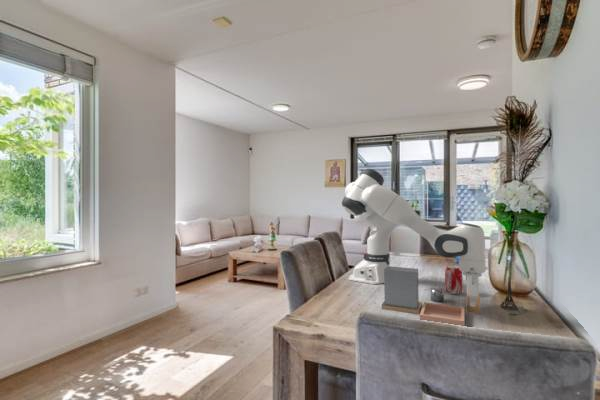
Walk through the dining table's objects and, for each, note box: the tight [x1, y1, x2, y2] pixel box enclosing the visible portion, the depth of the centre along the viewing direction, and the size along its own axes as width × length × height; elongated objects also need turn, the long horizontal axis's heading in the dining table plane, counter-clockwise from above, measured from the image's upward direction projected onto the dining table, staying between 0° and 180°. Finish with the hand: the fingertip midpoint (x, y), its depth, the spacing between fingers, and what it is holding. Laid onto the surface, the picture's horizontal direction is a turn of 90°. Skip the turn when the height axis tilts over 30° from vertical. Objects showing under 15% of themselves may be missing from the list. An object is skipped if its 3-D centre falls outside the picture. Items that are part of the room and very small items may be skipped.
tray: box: [419, 301, 466, 326], centre depth 113 cm, size 14×14×2 cm
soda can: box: [444, 264, 464, 295], centre depth 141 cm, size 7×7×12 cm
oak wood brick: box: [465, 292, 481, 315], centre depth 119 cm, size 4×4×7 cm
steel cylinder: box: [430, 286, 445, 304], centre depth 131 cm, size 5×5×5 cm
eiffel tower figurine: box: [499, 277, 530, 317], centre depth 121 cm, size 15×10×13 cm
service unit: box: [381, 265, 423, 315], centre depth 124 cm, size 14×10×16 cm
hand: (472, 302), depth 119 cm, fingers open, 8 cm apart
